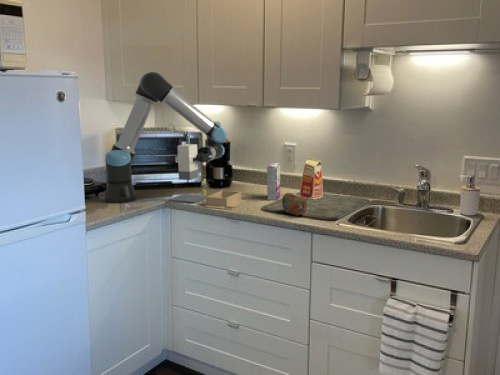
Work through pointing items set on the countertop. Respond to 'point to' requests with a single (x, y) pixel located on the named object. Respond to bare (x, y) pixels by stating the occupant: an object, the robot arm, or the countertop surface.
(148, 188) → the countertop surface
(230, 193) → the carton
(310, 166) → the milk carton
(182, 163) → the box
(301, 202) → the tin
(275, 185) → the candy bar box
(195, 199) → the board
